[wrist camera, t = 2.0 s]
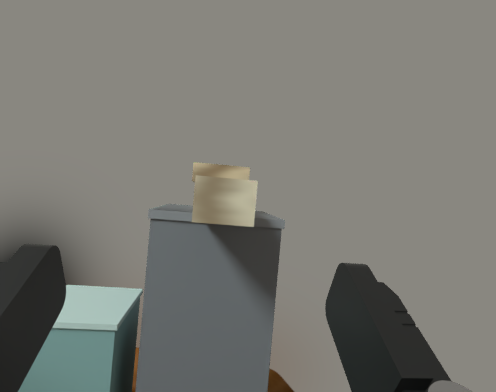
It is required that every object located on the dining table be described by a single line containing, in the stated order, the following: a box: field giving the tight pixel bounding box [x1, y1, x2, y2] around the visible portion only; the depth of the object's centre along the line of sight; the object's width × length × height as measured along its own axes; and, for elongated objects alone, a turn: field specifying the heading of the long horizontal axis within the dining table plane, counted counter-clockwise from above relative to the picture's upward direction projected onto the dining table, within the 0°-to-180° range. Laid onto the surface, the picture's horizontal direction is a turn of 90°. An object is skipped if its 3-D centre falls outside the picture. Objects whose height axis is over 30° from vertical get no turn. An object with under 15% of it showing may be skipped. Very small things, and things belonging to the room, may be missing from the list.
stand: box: [136, 204, 285, 392], centre depth 37 cm, size 12×13×32 cm
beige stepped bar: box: [192, 162, 258, 227], centre depth 32 cm, size 6×22×5 cm, turn 6°
